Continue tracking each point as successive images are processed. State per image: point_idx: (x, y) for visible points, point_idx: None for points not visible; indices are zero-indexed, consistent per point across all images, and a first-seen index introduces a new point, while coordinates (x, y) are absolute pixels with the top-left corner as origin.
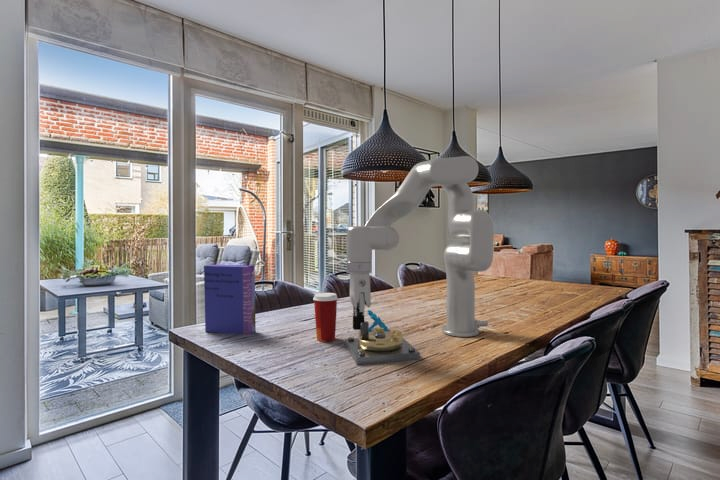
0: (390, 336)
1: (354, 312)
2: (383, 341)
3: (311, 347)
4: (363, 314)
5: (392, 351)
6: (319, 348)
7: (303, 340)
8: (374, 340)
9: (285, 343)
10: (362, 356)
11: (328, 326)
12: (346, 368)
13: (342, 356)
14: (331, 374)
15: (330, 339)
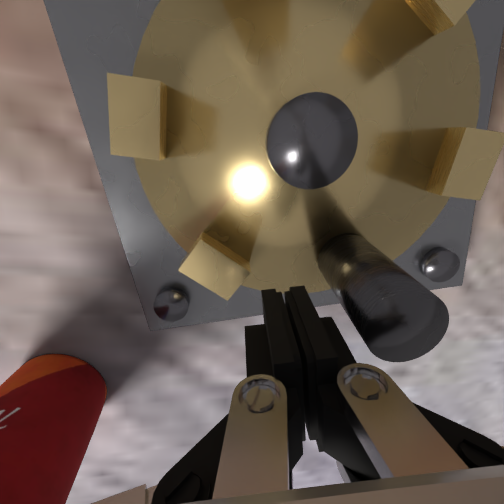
0: (309, 41)
1: (292, 480)
2: (496, 141)
3: (186, 425)
4: (397, 392)
5: None
6: (201, 401)
7: (88, 457)
8: (385, 196)
9: None
10: (460, 259)
11: (69, 449)
12: (462, 307)
13: None
14: (497, 352)
15: (93, 377)
